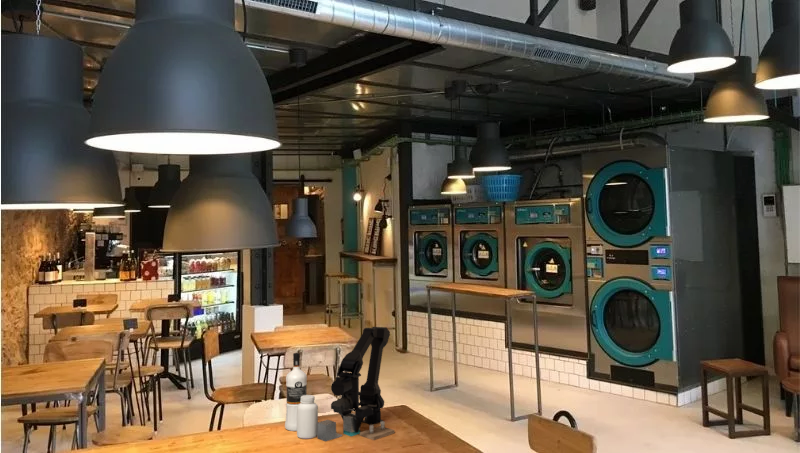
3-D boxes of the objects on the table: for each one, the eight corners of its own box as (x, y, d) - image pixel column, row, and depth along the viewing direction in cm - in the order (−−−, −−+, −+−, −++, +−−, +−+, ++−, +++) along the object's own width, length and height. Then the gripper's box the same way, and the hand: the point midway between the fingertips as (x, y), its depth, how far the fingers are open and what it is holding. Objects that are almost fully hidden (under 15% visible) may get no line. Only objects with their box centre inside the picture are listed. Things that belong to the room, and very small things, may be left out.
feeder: (317, 438, 214) (317, 422, 214) (333, 433, 220) (333, 417, 220) (325, 441, 210) (325, 425, 211) (342, 436, 216) (342, 420, 217)
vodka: (307, 423, 233) (307, 350, 234) (309, 430, 224) (308, 354, 225) (284, 425, 230) (284, 351, 232) (285, 432, 221) (285, 355, 223)
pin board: (359, 435, 217) (359, 424, 217) (380, 428, 225) (379, 418, 225) (374, 440, 211) (374, 428, 212) (394, 433, 219) (394, 422, 220)
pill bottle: (321, 434, 219) (321, 395, 220) (310, 440, 212) (310, 400, 213) (304, 431, 223) (304, 393, 223) (292, 437, 215) (292, 397, 216)
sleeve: (343, 433, 219) (343, 415, 219) (352, 431, 222) (352, 413, 223) (351, 436, 216) (351, 417, 216) (360, 433, 219) (360, 415, 220)
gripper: (320, 389, 221) (320, 430, 220) (352, 398, 208) (352, 441, 207) (341, 384, 229) (342, 423, 228) (373, 392, 216) (374, 433, 215)
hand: (351, 430), depth 219 cm, fingers open, 5 cm apart
